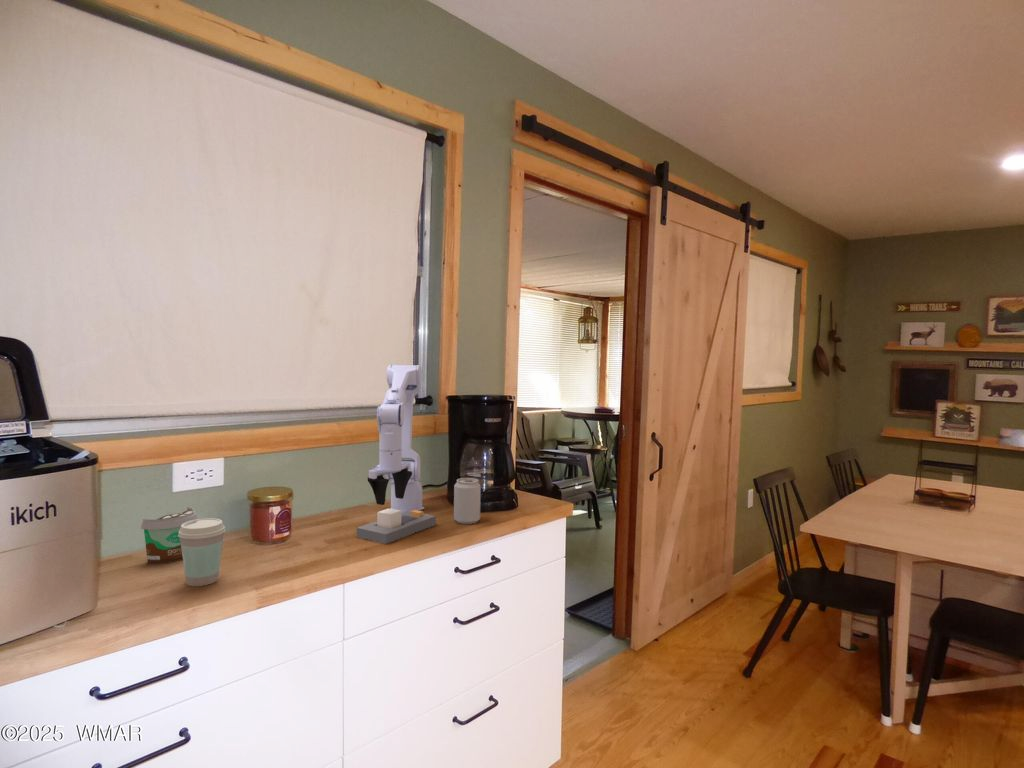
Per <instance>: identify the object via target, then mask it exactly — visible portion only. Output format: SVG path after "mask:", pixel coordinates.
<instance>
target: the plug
mask: <svg viewBox="0 0 1024 768" xmlns="http://www.w3.org/2000/svg"><path fill="white" fill-rule="evenodd" d="M376 513H377V516H376V517H377V518H376V521H377V526H379V527H384V528H388V529H392V528H395V527H398V526H401V511H400V510H395V509H389V508H386V509H383V510H380V511H377V512H376Z"/></svg>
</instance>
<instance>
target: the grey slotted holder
mask: <svg viewBox="0 0 1024 768" xmlns="http://www.w3.org/2000/svg"><path fill="white" fill-rule="evenodd" d="M436 517H437V515H431V514H426V513H424V511H423V510H419V511H418V510H413V511H406V512H403V513H401V526H398V527H395V528H392V529H388V528H384V527H379V526H377V520H376V521H373V522H370V523H367V524H364V525H361V526H358V527H356V538H357V537H358V539H361V538H363V539H362V540H366V539H368V540H367V541H370V540H372V541H371V542H374V541H376V542H375V543H378V542H379V544H384V545H388V544H391V543H393V542H395V540H396V541H398V540H400V538H401V539H403V538H405V537H409V536H410V535H414V534H416V533H418V531H419V532H421V531H425V530H426V528H427V529H429V528H432V527H434V526H436V525H437V523H436V522H437V518H436ZM431 526H432V527H431ZM415 532H416V533H415ZM413 533H414V534H413Z"/></svg>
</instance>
